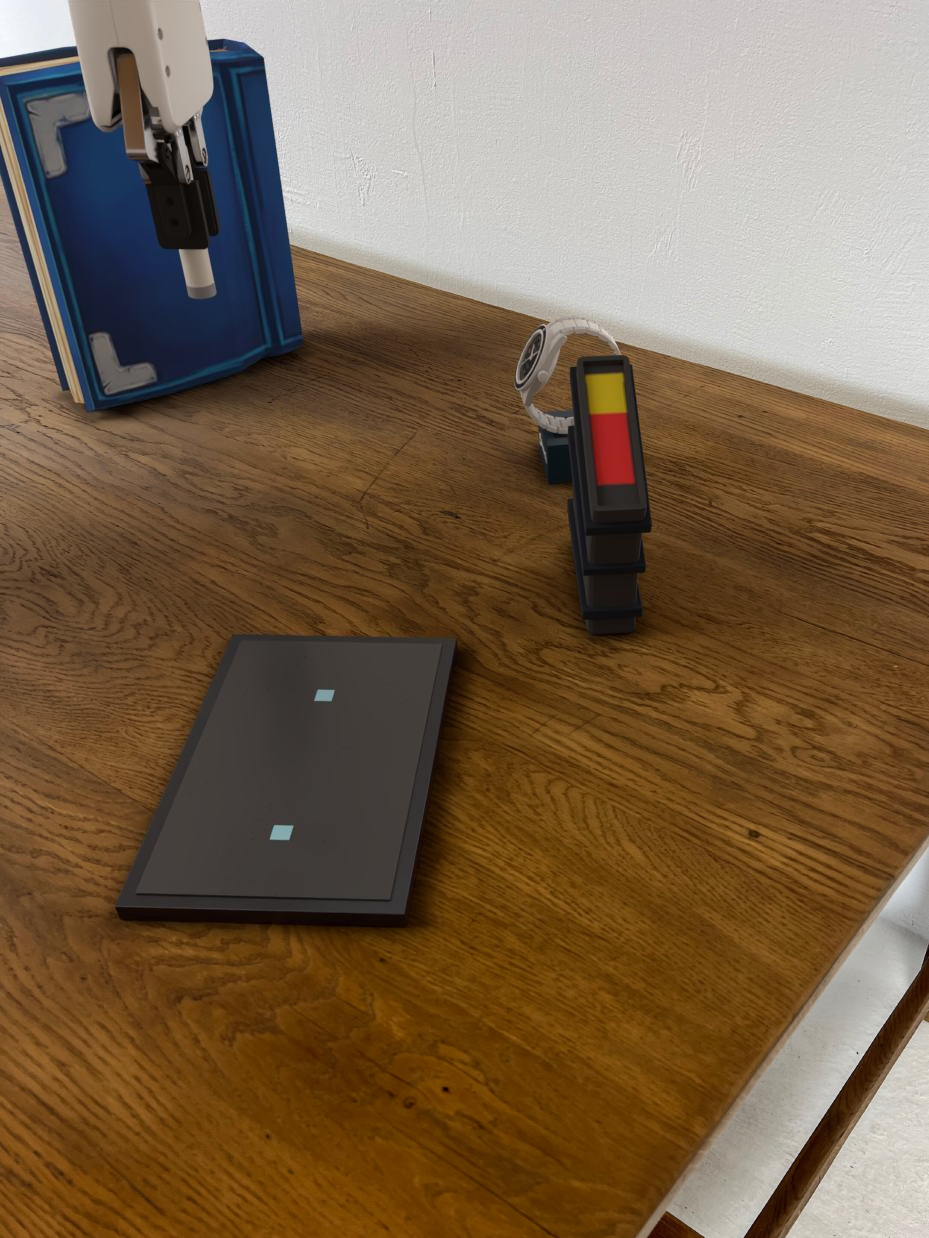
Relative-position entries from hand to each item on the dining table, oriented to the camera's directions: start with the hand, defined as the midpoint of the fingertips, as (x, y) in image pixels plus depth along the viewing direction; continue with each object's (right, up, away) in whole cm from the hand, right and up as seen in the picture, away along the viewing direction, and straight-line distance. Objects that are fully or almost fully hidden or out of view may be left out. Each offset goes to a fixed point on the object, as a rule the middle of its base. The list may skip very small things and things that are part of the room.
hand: (190, 239), depth 75 cm
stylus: (0, -3, +2) cm, 4 cm away
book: (-9, 0, +27) cm, 29 cm away
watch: (+25, -11, +14) cm, 31 cm away
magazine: (+27, -23, +1) cm, 36 cm away
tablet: (+10, -34, -11) cm, 38 cm away
